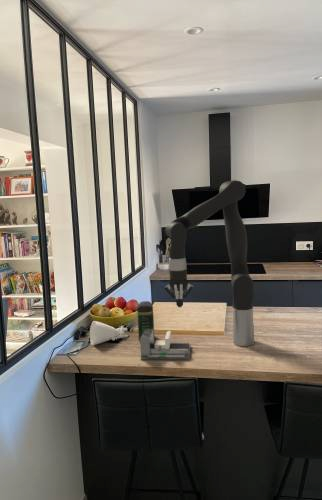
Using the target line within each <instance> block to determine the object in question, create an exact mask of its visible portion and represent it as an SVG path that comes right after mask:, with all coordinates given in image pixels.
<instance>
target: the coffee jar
mask: <svg viewBox="0 0 322 500" xmlns="http://www.w3.org/2000/svg"><path fill="white" fill-rule="evenodd" d="M136 312H137V313H136V314H137V316H136V317H137V328H138V330H137V331H138V341H140V338H141V336H142V334H143V332H144V330H145V329H153V333H154V334H155V322H154V321H155V320H154V307H153V303H152V302H151V301H140V302H139V303H138V304H137V306H136Z"/></svg>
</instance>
